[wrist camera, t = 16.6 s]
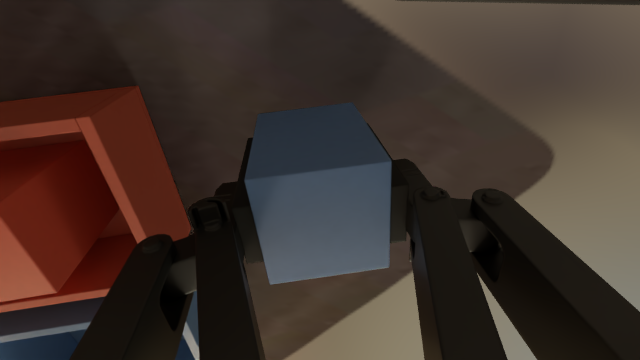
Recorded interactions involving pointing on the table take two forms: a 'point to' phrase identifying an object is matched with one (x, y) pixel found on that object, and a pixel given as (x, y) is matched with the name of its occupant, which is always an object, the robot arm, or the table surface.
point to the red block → (48, 215)
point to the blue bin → (69, 331)
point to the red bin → (117, 170)
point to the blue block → (319, 193)
